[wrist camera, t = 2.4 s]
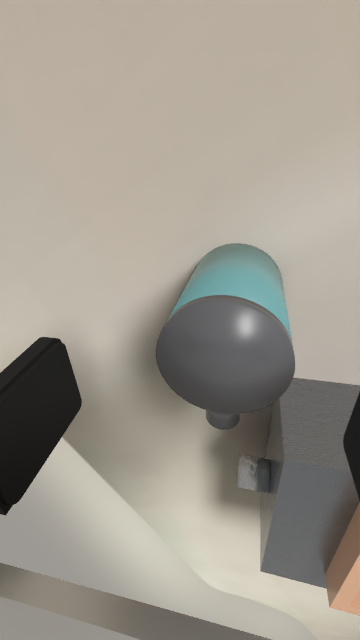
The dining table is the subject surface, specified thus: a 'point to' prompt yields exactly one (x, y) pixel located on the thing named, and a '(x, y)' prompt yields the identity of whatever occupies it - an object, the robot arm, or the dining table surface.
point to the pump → (229, 336)
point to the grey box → (309, 492)
